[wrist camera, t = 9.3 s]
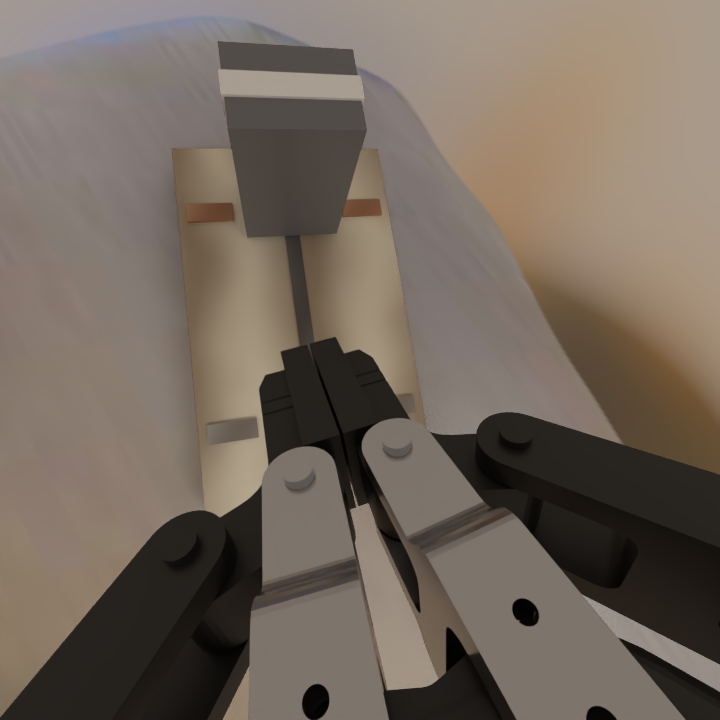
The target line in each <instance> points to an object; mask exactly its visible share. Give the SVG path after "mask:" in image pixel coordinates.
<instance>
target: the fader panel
mask: <svg viewBox="0 0 720 720" xmlns="http://www.w3.org/2000/svg"><path fill="white" fill-rule="evenodd" d="M172 157H173V168H174V178H175V189H176V200H177V211H178V222H179V233H180V243H181V254H182V265H183V276H184V287H185V298H186V308H187V319H188V330H189V341H190V352H191V363H192V373H193V384H194V395H195V406H196V417H197V428H198V438H199V449H200V460H201V471H202V482H203V493H204V503H205V511H208V512H212V513H214V514H216V515H217V516H218V517H221V516H223V515H225V514H226V513H228V512H230V511H231V510H233V509H234V508H236V507H237V506H239V505H241V504H242V503H243V502H245V501H246V500H248V499H249V498H250V497H251V496H252V495H253V494H254V493H255V492H256V491H257V490H258V489H259V487H260V486H261V485H262V479H263V475H264V473H265V471H266V469H267V467H268V457H267V449H266V441H265V433H264V426H263V418H262V417H263V416H262V410H261V402H260V395H259V388H260V385H261V383H262V381H263V379H264V377H265V375H267V374H271V373H275V372H278V371H282V370H285V369H284V365H283V361H282V357H281V352H280V351H284V350H287V349H291V348H295V347H299V346H302V345H306V344H307V346H308V348H309V351H310V347H309V344H310V343H313V342H317V341H321V340H325V339H328V338H332V337H336V338H337V340H338V342H339V344H340V346H341V348H342V350H343V352H344V353H347V352H351V351H354V350H358V349H360V350H361V351H363V352H365V353H366V354H368V355H370V356H371V357H373V359H374V360H375V362H376V364H377V365H378V367H379V369H380V371H381V372H382V373H383V375H384V377H385V378H386V381H387V382H388V383H389V385H390V387H391V388H392V390H393V392H394V393H395V395H396V396H397V398H398V400H399V401H400V403H401V405H402V406H403V408H404V410H405V411H406V413H407V414H408V416H409V418H410V419H411V420H413V421H416V422H418V423H420V424H422V425H423V426H424V427H426V423H425V418H424V412H423V406H422V401H421V395H420V389H419V383H418V378H417V372H416V366H415V361H414V355H413V349H412V343H411V338H410V332H409V326H408V321H407V315H406V309H405V303H404V298H403V292H402V286H401V280H400V275H399V269H398V263H397V258H396V252H395V246H394V240H393V235H392V229H391V223H390V218H389V212H388V206H387V200H386V195H385V189H384V183H383V178H382V172H381V166H380V160H379V155H378V149H361V151H360V155H359V158H358V162H357V165H356V169H355V172H354V176H353V179H352V182H351V186H350V189H349V193H348V196H347V200H346V203H345V207H344V210H343V214H342V217H341V220H340V224H339V227H338V231H337V234H316V235H294V236H273V237H252V238H247V234H246V228H245V223H244V217H243V211H242V206H241V200H240V194H239V189H238V183H237V177H236V172H235V166H234V160H233V154H232V149H172ZM310 354H311V351H310ZM311 357H312V356H311ZM350 483H351V482H350ZM351 487H352V485H351ZM352 490H353V488H352Z"/></svg>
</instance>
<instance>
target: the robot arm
mask: <svg viewBox="0 0 720 720" xmlns="http://www.w3.org/2000/svg"><path fill="white" fill-rule="evenodd" d="M309 347H310V351H311V354H310V351H309V348H308V346H307V344H306V345H302V346H299V347H295V348H291V349H287V350H284V351H280V352H281V357H282V361H283V365H284V369H285V370H282V371H278V372H275V373H271V374H267V375H265V377H264V379H263V381H262V383H261V385H260V388H259V395H260V402H261V410H262V416H263V417H262V418H263V426H264V433H265V441H266V449H267V457H268V467H267V469H266V471H265V473H264V475H263V479H262V485H261V486H260V487H259V489H258V490H257V491H256V492H255V493H254V494H253V495H252V496H251V497H250V498H249V499H248V500H246V501H245V502H243V503H242V504H241V505H239V506H237V507H236V508H234V509H233V510H231V511H230V512H228V513H226V514H225V515H223V516H222V517H220V518H219V517H218V516H217V515H216V514H214V513H212V512H208V511H200V510H198V511H191V512H187V513H184V514H182V515H179V516H177V517H175V518H173V519H171V520H170V521H168V522H167V523H166V524H164V525H163V526H162V527H161V528H159V529H158V530H157V531H156V532H155V533H154V534H153V535H152V536H151V538H150V539H149V540H148V541H147V542H146V544H145V545H144V546H143V547H142V548H141V550H140V551H139V552H138V553H137V554H136V556H135V557H134V558H133V559H132V560H131V562H130V563H129V564H128V565H127V566H126V568H125V569H124V570H123V571H122V572H121V574H120V575H119V576H118V577H117V578H116V580H115V581H114V582H113V583H112V584H111V586H110V587H109V588H108V589H107V590H106V592H105V593H104V594H103V595H102V596H101V598H100V599H99V600H98V601H97V602H96V604H95V605H94V606H93V607H92V608H91V610H90V611H89V612H88V613H87V614H86V616H85V617H84V618H83V619H82V620H81V622H80V623H79V624H78V625H77V626H76V627H75V629H74V630H73V631H72V632H71V633H70V635H69V636H68V637H67V638H66V639H65V641H64V642H63V643H62V644H61V645H60V647H59V648H58V649H57V650H56V651H55V653H54V654H53V655H52V656H51V657H50V659H49V660H48V661H47V662H46V663H45V665H44V666H43V667H42V668H41V669H40V671H39V672H38V673H37V674H36V675H35V677H34V678H33V679H32V680H31V681H30V683H29V684H28V685H27V686H26V687H25V689H24V690H23V691H22V692H21V693H20V695H19V696H18V697H17V698H16V699H15V701H14V702H13V703H12V704H11V705H10V707H9V708H8V709H7V710H6V711H5V713H4V714H3V715H2V716H1V717H0V720H223V718H224V715H225V713H226V711H227V709H228V707H229V705H230V703H231V701H232V699H233V697H234V695H235V693H236V691H237V689H238V687H239V685H240V683H241V681H242V679H243V677H244V675H245V673H246V671H247V669H248V667H249V720H720V692H719V691H717V690H715V689H714V688H712V687H710V686H708V685H707V684H705V683H703V682H701V681H699V680H698V679H696V678H694V677H692V676H691V675H689V674H687V673H685V672H684V671H682V670H680V669H678V668H677V667H675V666H673V665H671V664H670V663H668V662H666V661H664V660H663V659H661V658H659V657H657V656H655V655H654V654H652V653H650V652H648V651H646V650H644V649H643V648H641V647H639V646H636V645H634V644H632V643H629V642H627V641H625V640H623V639H620V638H617V636H616V635H615V634H614V633H613V632H612V630H611V629H610V628H609V627H608V626H607V624H606V623H605V622H604V621H603V620H602V618H601V617H600V616H599V615H598V614H597V612H596V611H595V610H594V609H593V607H592V606H591V605H590V604H589V603H588V601H587V600H586V599H585V598H584V597H583V595H585V596H586V597H588V598H590V599H592V600H594V601H596V602H598V603H600V604H602V605H604V606H606V607H608V608H610V609H612V610H614V611H616V612H618V613H620V614H622V615H624V616H626V617H628V618H630V619H632V620H634V621H636V622H638V623H640V624H641V625H643V626H645V627H647V628H649V629H651V630H653V631H655V632H657V633H659V634H661V635H663V636H665V637H667V638H669V639H671V640H673V641H675V642H677V643H679V644H681V645H683V646H685V647H687V648H689V649H691V650H693V651H695V652H696V653H698V654H700V655H702V656H704V657H706V658H708V659H710V660H712V661H714V662H716V663H718V664H720V475H718V474H715V473H712V472H709V471H706V470H703V469H699V468H696V467H693V466H690V465H686V464H683V463H680V462H677V461H673V460H670V459H667V458H663V457H661V456H657V455H654V454H651V453H648V452H644V451H641V450H638V449H634V448H631V447H628V446H625V445H622V444H619V443H615V442H612V441H609V440H606V439H602V438H599V437H596V436H593V435H589V434H586V433H583V432H580V431H576V430H573V429H570V428H567V427H564V426H560V425H557V424H554V423H551V422H547V421H544V420H541V419H538V418H534V417H531V416H528V415H524V414H520V413H513V412H505V413H498V414H494V415H492V416H489V417H488V418H486V419H485V420H483V421H482V422H481V424H480V425H479V427H478V429H477V434H464V435H440V434H435V433H431V432H429V431H428V430H427V428H426V427H424V426H423V425H422V424H420V423H418V422H416V421H413V420H411V419H410V418H409V416H408V414H407V413H406V411H405V410H404V408H403V406H402V405H401V403H400V401H399V400H398V398H397V396H396V395H395V393H394V392H393V390H392V388H391V387H390V385H389V383H388V382H387V381H386V378H385V377H384V375H383V373H382V372H381V371H380V369H379V367H378V365H377V364H376V362H375V360H374V359H373V357H371V356H370V355H368V354H366V353H365V352H363V351H361V350H360V349H358V350H354V351H351V352H347V353H344V352H343V350H342V348H341V346H340V344H339V342H338V340H337V338H336V337H332V338H328V339H325V340H321V341H317V342H313V343H310V344H309ZM311 356H312V357H311ZM350 482H351V483H350ZM351 485H352V487H351ZM352 488H353V491H354V494H355V497H356V500H357V503H358V506H361V505H363V504H366V503H369V505H370V508H371V511H372V513H373V516H374V519H375V524H376V530H377V534H378V537H379V539H380V541H381V543H382V545H383V548H384V550H385V552H386V554H387V556H388V559H389V561H390V563H391V565H392V567H393V569H394V572H395V574H396V576H397V578H398V580H399V583H400V585H401V587H402V589H403V591H404V593H405V596H406V598H407V600H408V602H409V604H410V606H411V609H412V611H413V613H414V615H415V618H416V620H417V623H418V625H419V628H420V631H421V634H422V637H423V640H424V643H425V646H426V649H427V652H428V654H429V657H430V659H431V662H432V664H433V667H434V669H435V671H436V674H437V676H438V678H439V679H438V680H437V681H436V682H435V683H433V684H432V685H430V686H427V687H423V688H411V689H399V690H388V689H387V685H386V680H385V676H384V672H383V667H382V663H381V658H380V654H379V650H378V646H377V641H376V637H375V632H374V628H373V623H372V619H371V614H370V610H369V605H368V601H367V596H366V591H365V587H364V582H363V578H362V573H361V569H360V564H359V560H358V555H357V551H356V546H355V539H356V537H355V529H354V525H353V520H352V516H351V512H350V509H352V508H355V507H356V505H355V501H354V496H353V492H352ZM582 594H583V595H582Z"/></svg>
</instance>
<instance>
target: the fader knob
mask: <svg viewBox="0 0 720 720" xmlns="http://www.w3.org/2000/svg"><path fill="white" fill-rule="evenodd" d="M218 47H219V56H220V64H221V69H218V74H219V83H220V91H221V98H222V104H223V109H224V115H225V116H227V125H228V132H229V137H230V143H231V149H232V154H233V160H234V166H235V172H236V177H237V183H238V189H239V194H240V200H241V206H242V211H243V217H244V223H245V228H246V234H247V238H252V237H273V236H294V235H316V234H337V231H338V227H339V224H340V220H341V217H342V214H343V210H344V207H345V203H346V200H347V196H348V193H349V189H350V186H351V182H352V179H353V176H354V172H355V169H356V165H357V162H358V158H359V155H360V151H361V148H362V145H363V141H364V138H365V134H366V131H367V129H366V123H365V118H364V112H363V103H364V99H365V98H364V92H363V86H362V80H361V76H358V75H357V71H356V65H355V60H354V54H353V50H351V49H334V48H318V47H302V46H285V45H269V44H252V43H236V42H220V41H218Z"/></svg>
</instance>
